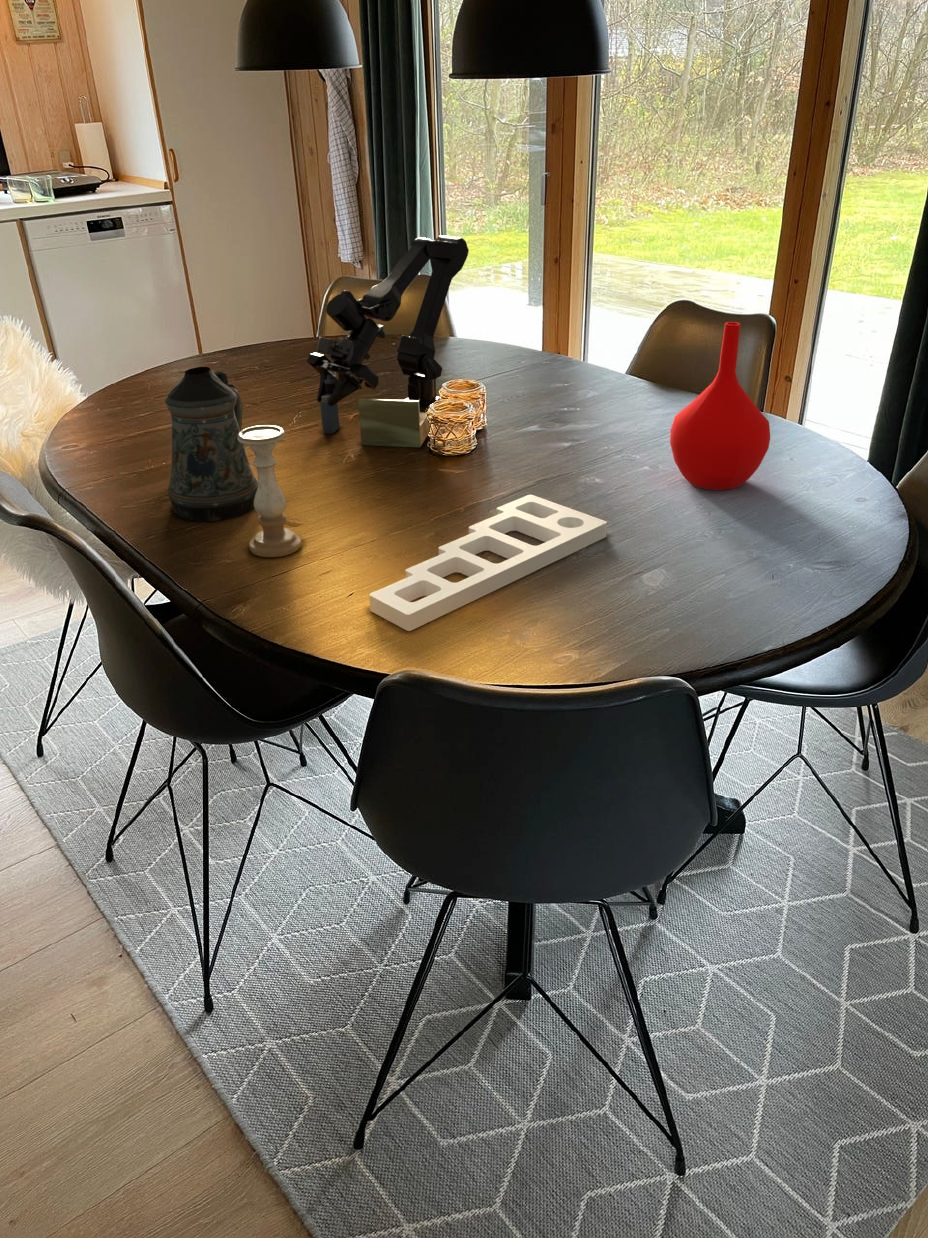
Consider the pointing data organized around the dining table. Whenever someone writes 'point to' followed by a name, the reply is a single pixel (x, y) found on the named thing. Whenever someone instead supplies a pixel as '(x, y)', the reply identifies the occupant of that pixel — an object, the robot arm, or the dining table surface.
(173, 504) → the beer stein
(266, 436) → the candle holder
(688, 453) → the vase
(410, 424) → the glossy olive-green box
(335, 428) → the vaping device
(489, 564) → the holder
